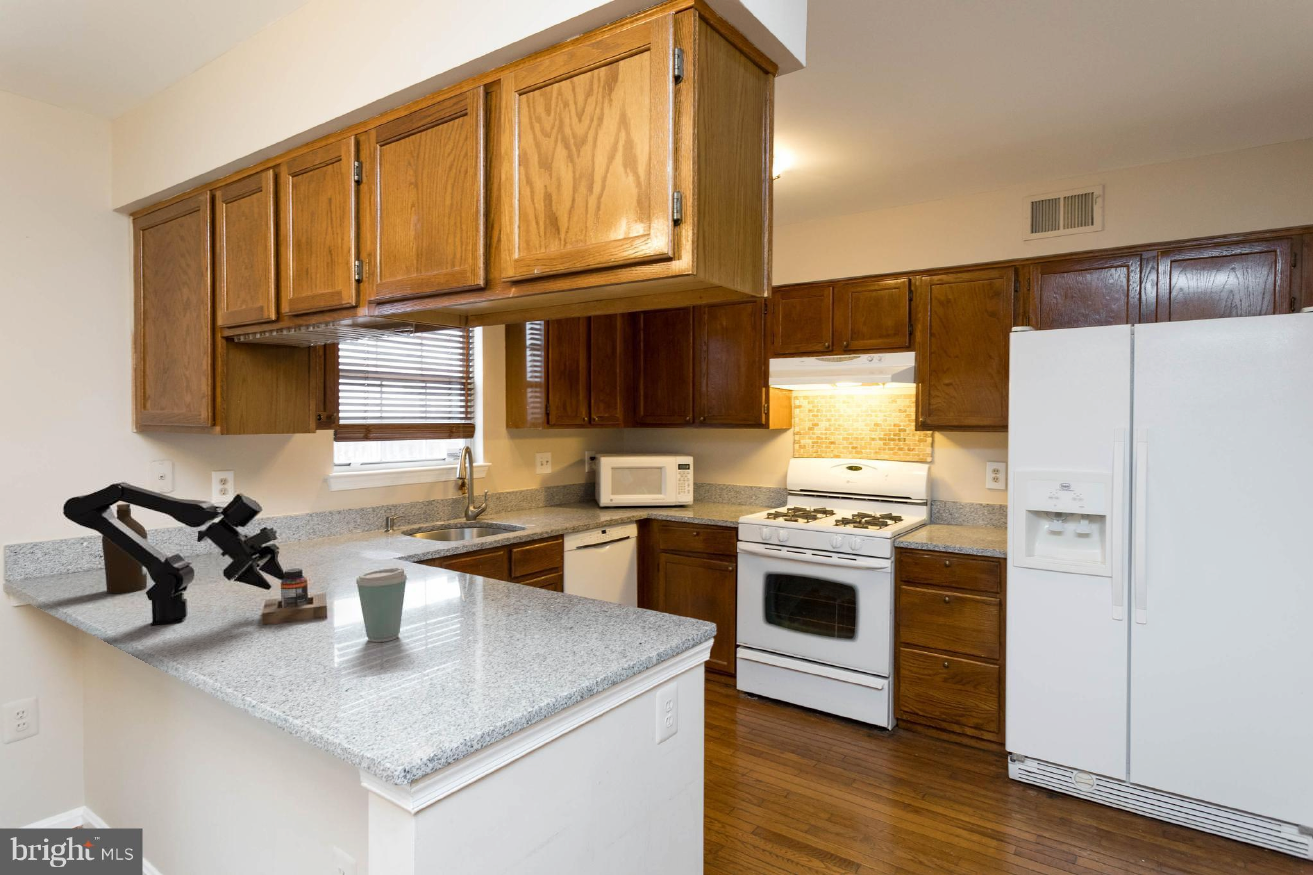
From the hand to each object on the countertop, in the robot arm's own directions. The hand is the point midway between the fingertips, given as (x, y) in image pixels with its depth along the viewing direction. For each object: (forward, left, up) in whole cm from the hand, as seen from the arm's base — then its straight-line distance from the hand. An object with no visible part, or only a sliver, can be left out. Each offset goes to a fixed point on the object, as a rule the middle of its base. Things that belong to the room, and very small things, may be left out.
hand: (278, 584), depth 180 cm
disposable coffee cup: (+22, -32, -8) cm, 40 cm away
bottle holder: (+4, -1, -8) cm, 9 cm away
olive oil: (-41, +53, -8) cm, 67 cm away
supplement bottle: (+4, -1, -8) cm, 9 cm away
